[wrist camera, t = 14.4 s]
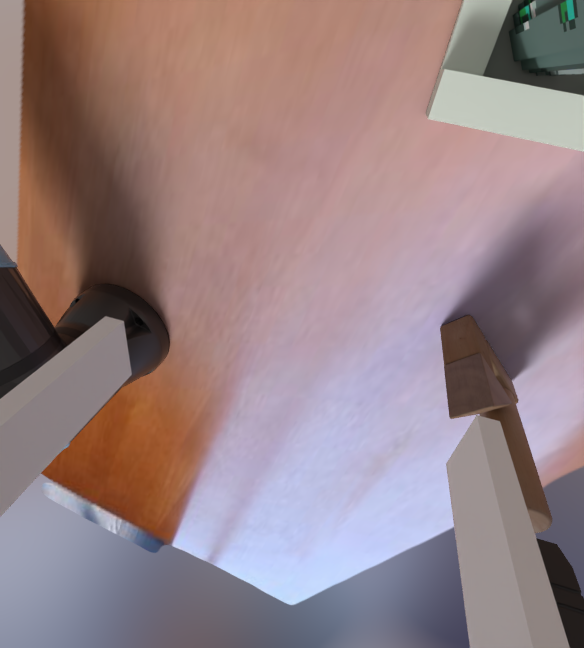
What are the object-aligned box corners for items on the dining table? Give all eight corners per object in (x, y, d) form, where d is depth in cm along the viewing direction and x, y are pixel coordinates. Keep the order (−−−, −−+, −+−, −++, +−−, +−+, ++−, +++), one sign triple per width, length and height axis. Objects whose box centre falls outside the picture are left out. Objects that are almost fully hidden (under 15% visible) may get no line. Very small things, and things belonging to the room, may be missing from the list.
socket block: (425, 113, 31) (427, 118, 26) (507, -138, 23) (532, -195, 18) (599, 149, 29) (635, 162, 25) (753, -109, 21) (852, -165, 17)
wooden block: (470, 312, 40) (503, 444, 25) (512, 381, 43) (563, 533, 28) (438, 326, 42) (451, 455, 27) (480, 391, 45) (513, 538, 30)
